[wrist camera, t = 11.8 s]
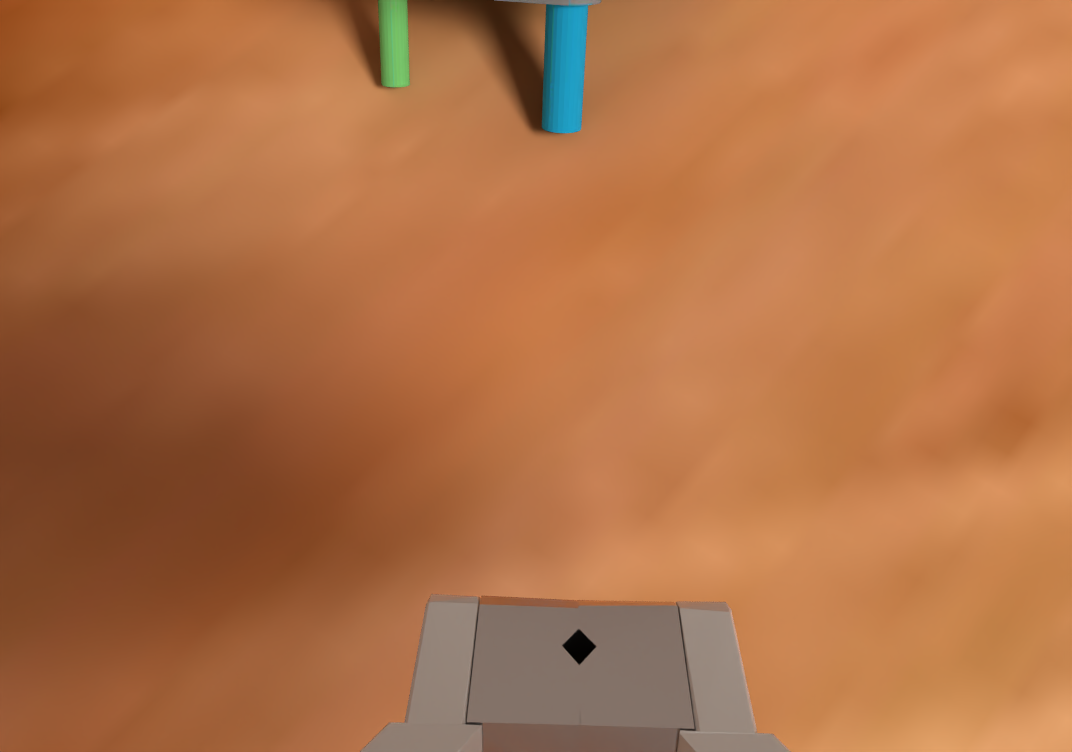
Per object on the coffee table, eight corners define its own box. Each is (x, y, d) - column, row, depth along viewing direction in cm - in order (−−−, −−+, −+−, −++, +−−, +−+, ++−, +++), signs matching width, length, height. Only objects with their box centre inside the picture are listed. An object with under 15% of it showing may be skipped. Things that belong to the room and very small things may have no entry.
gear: (796, -126, 26) (798, -113, 17) (763, 102, 28) (750, 210, 20) (398, -143, 28) (220, -141, 19) (404, 71, 30) (252, 157, 22)
